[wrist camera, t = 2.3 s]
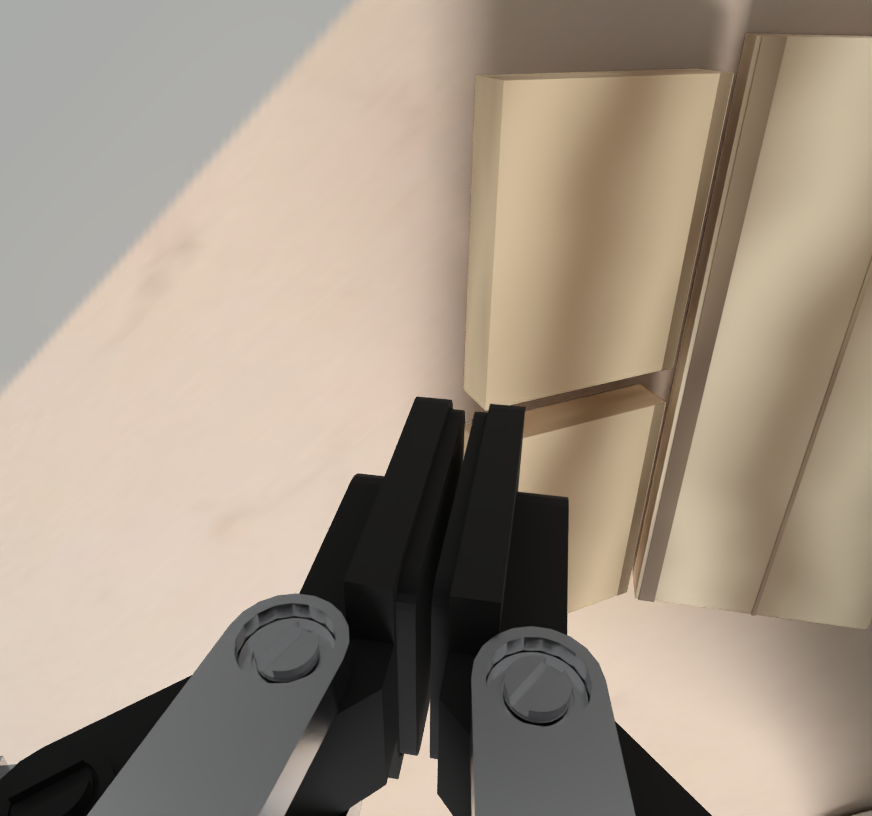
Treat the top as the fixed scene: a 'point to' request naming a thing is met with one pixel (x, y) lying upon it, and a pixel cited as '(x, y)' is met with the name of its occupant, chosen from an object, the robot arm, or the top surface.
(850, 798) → the top surface
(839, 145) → the laid oak floor row
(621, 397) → the back oak plank
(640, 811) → the robot arm
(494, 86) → the front oak plank
